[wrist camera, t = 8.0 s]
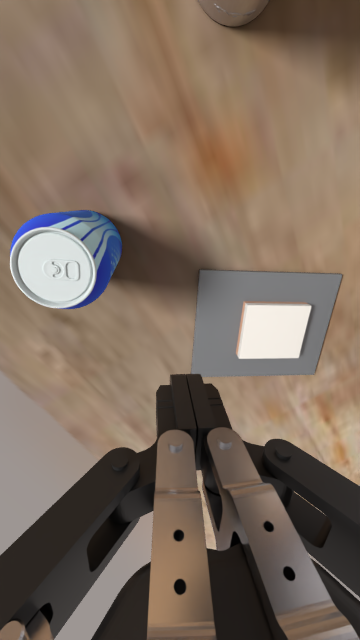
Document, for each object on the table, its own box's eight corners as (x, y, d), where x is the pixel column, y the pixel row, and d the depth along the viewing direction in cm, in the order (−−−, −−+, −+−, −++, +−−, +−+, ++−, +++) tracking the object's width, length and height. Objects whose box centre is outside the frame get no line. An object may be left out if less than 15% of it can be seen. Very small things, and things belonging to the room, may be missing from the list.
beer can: (96, 287, 39) (65, 336, 24) (44, 244, 36) (-26, 272, 21) (135, 243, 37) (128, 268, 23) (84, 194, 34) (39, 188, 20)
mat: (199, 269, 40) (200, 270, 39) (339, 273, 42) (342, 274, 42) (190, 374, 47) (191, 377, 46) (312, 372, 49) (314, 374, 49)
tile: (247, 305, 40) (311, 306, 41) (243, 301, 42) (305, 302, 43) (239, 358, 44) (298, 358, 45) (235, 353, 45) (293, 352, 46)
